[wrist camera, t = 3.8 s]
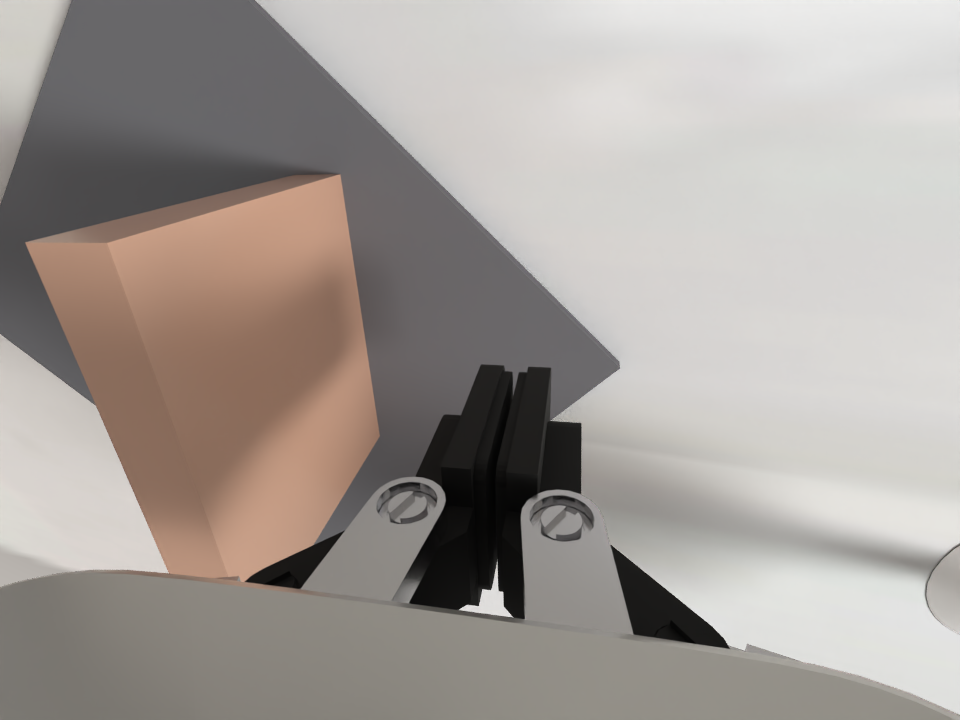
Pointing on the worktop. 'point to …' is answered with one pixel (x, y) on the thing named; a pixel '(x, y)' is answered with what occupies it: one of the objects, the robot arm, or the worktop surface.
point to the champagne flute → (946, 591)
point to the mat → (261, 158)
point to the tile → (224, 365)
